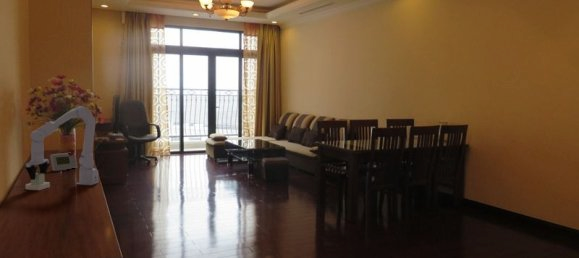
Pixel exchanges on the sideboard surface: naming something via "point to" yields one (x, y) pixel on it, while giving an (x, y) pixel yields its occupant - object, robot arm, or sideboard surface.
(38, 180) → the green block
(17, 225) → the sideboard surface
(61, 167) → the digital clock
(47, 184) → the grey base
